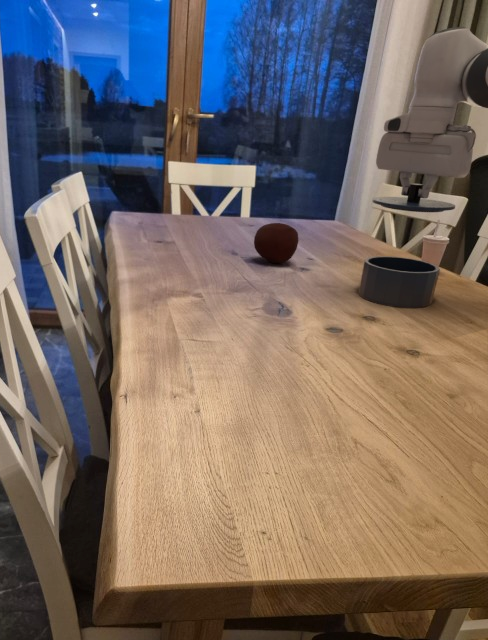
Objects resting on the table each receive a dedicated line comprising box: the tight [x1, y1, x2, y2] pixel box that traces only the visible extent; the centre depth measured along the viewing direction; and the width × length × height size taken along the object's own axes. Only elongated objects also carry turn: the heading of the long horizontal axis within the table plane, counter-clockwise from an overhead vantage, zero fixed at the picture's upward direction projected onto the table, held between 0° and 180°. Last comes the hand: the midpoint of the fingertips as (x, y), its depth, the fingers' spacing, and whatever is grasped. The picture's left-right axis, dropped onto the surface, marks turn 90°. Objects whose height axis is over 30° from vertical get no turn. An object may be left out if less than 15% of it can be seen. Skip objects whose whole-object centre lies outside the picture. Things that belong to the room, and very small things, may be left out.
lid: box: [371, 183, 456, 213], centre depth 121 cm, size 17×17×5 cm
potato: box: [253, 222, 300, 264], centre depth 153 cm, size 11×13×10 cm
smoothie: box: [421, 219, 450, 268], centre depth 147 cm, size 6×6×14 cm
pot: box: [358, 255, 441, 309], centre depth 127 cm, size 16×16×8 cm
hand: (414, 196), depth 121 cm, fingers closed on lid, 2 cm apart
